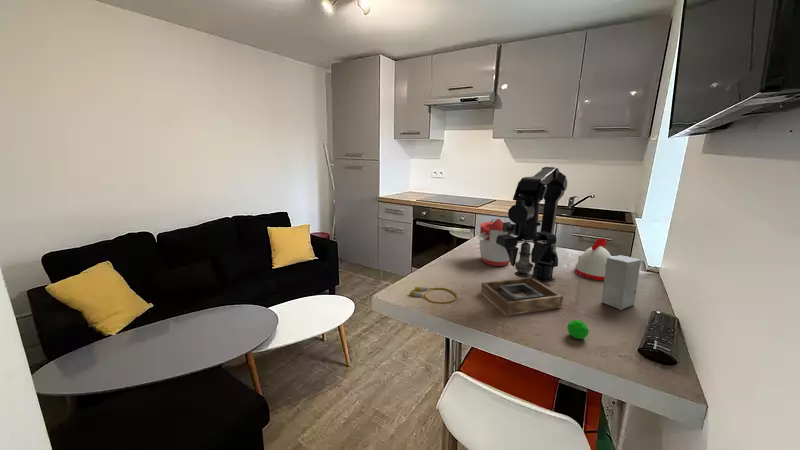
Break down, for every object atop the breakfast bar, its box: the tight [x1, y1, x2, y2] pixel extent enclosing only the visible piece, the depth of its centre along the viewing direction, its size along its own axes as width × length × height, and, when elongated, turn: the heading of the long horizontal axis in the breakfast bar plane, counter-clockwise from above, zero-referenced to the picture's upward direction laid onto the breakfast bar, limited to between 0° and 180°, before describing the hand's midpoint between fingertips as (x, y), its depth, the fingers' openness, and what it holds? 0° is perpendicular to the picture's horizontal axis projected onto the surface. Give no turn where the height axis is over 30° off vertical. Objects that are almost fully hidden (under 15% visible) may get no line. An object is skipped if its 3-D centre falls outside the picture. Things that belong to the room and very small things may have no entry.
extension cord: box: [409, 286, 458, 304], centre depth 112 cm, size 12×16×2 cm
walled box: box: [480, 276, 564, 316], centre depth 108 cm, size 20×16×4 cm
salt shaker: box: [514, 242, 534, 278], centre depth 104 cm, size 6×6×12 cm
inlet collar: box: [498, 283, 544, 302], centre depth 108 cm, size 10×10×3 cm
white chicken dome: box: [574, 237, 612, 281], centre depth 130 cm, size 14×14×15 cm
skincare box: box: [601, 254, 642, 311], centre depth 104 cm, size 8×7×16 cm
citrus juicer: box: [477, 218, 517, 267], centre depth 142 cm, size 16×17×20 cm
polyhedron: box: [566, 319, 590, 340], centre depth 87 cm, size 5×5×5 cm
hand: (524, 264), depth 105 cm, fingers closed on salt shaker, 8 cm apart
